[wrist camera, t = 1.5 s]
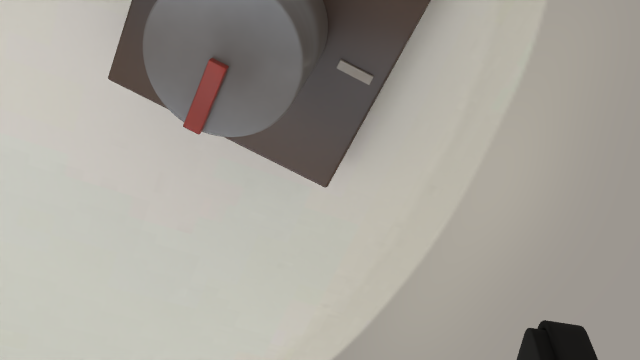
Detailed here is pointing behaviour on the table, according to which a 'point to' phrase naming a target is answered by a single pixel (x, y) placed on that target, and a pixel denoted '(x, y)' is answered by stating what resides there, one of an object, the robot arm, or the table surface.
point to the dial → (232, 59)
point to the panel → (308, 81)
